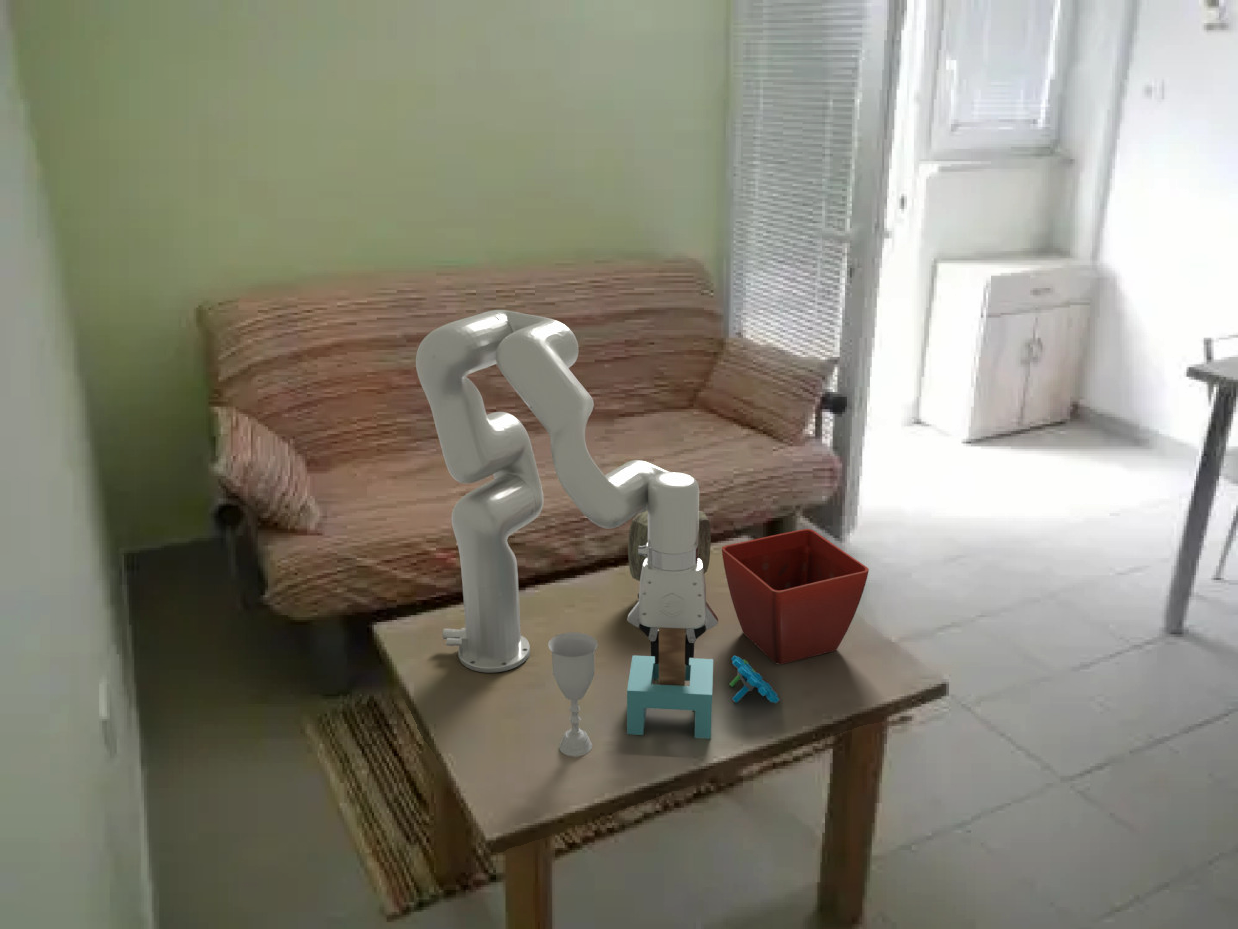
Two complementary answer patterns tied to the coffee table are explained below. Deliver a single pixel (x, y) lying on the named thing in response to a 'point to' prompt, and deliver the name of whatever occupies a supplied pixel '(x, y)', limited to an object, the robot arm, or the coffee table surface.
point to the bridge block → (669, 694)
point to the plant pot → (793, 593)
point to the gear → (751, 681)
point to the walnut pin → (672, 656)
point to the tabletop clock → (640, 538)
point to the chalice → (573, 682)
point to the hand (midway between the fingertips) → (672, 659)
